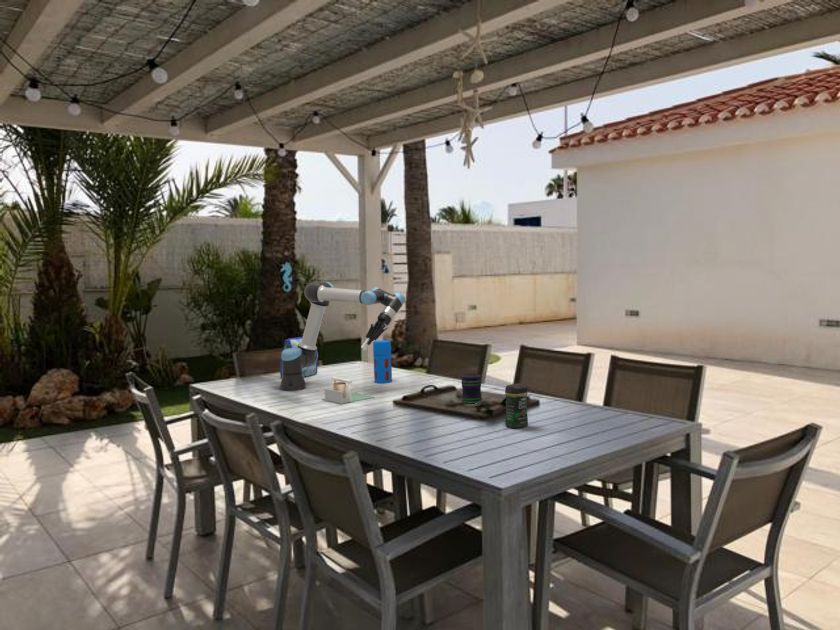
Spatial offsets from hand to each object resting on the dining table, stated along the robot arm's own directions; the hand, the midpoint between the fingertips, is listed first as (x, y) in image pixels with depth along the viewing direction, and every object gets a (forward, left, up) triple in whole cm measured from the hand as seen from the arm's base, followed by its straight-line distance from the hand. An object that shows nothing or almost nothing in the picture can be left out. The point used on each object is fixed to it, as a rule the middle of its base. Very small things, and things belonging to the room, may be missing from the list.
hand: (363, 348), depth 369 cm
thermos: (-25, +32, -26) cm, 48 cm away
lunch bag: (-84, +9, -26) cm, 88 cm away
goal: (+3, -19, -25) cm, 32 cm away
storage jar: (+63, +20, -26) cm, 71 cm away
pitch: (+1, -12, -26) cm, 28 cm away
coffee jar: (+108, +2, -26) cm, 111 cm away
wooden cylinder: (+3, -19, -25) cm, 32 cm away
